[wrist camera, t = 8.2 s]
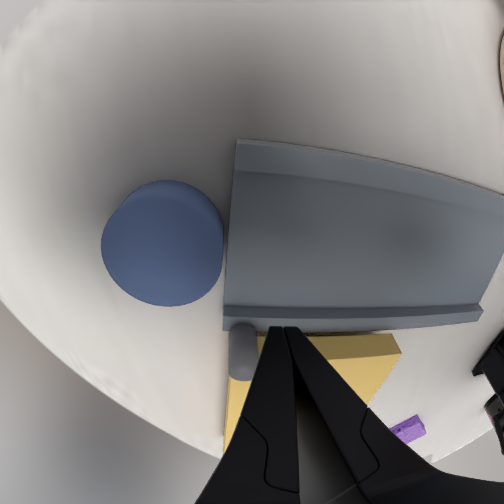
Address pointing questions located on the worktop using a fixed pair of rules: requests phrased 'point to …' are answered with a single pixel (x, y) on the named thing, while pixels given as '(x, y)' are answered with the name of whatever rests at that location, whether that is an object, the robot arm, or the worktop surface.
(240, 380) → the cover
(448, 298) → the grey flanged channel
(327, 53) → the worktop surface
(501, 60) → the teacup with lid
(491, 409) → the supplement container
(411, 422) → the sponges
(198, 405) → the worktop surface
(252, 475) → the robot arm
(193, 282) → the blue rounded dome
